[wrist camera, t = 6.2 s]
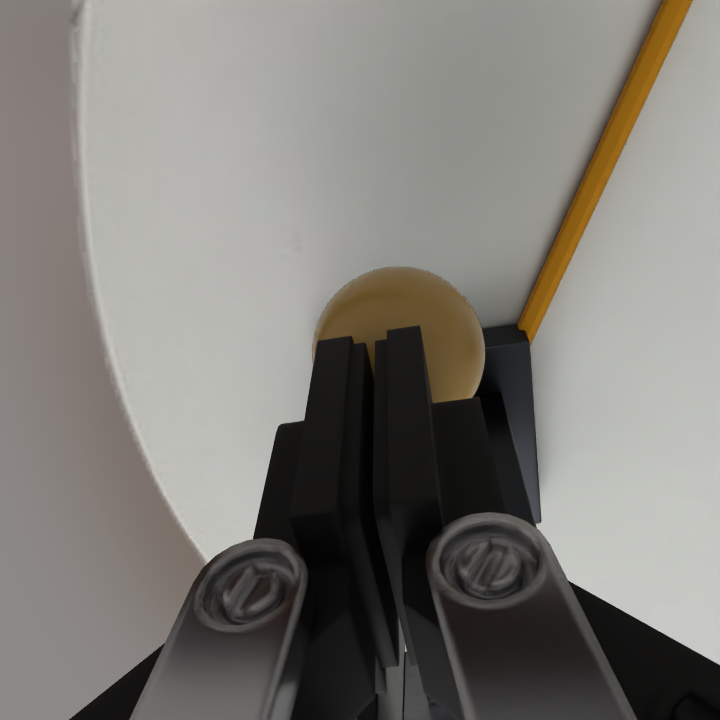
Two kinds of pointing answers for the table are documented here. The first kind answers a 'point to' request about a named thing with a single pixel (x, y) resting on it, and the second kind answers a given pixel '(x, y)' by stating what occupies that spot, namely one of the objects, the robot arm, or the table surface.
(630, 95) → the pencil
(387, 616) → the robot arm
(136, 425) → the table surface
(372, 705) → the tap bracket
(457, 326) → the tap lever
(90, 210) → the table surface
